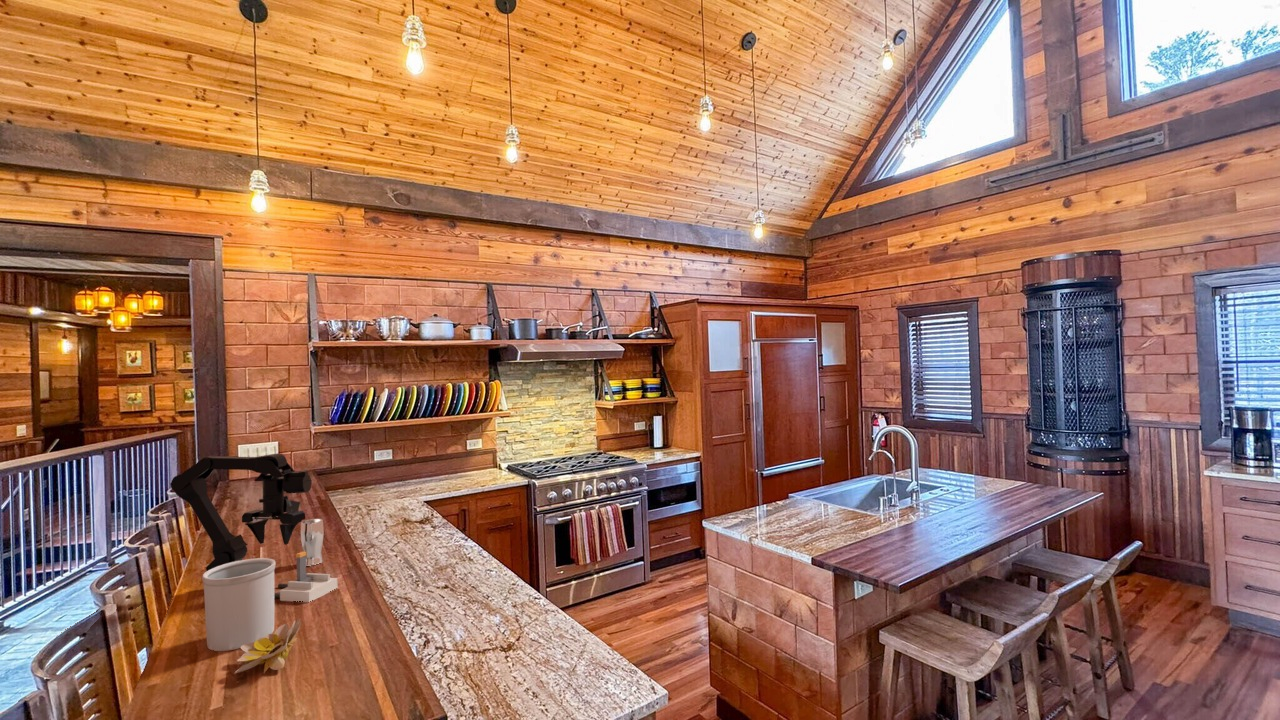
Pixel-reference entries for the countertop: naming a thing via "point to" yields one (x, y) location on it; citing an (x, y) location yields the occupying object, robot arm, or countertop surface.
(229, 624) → the utensil holder
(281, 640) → the decorative flower
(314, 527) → the beer glass
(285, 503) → the robot arm
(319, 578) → the box
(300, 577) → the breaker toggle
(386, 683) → the countertop surface
